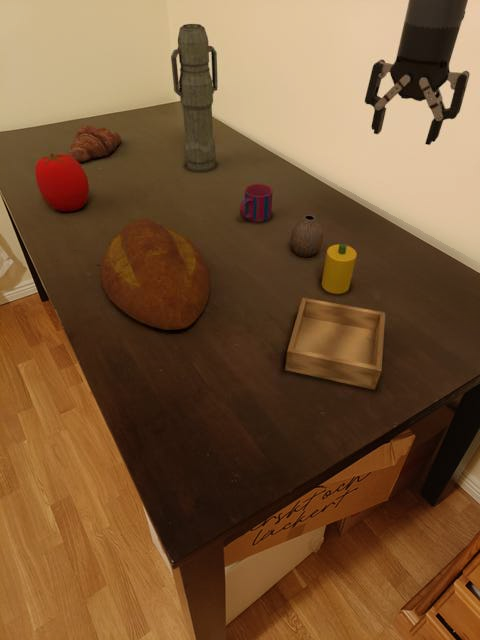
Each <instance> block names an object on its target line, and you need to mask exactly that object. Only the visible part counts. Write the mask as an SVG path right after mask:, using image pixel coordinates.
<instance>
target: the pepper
mask: <svg viewBox="0 0 480 640" xmlns="http://www.w3.org/2000/svg"><path fill="white" fill-rule="evenodd" d="M357 254H358V253H357V251H356V250H355V249H354V248H353V247H352V246H350V245H347V244H346V243H340V244H333V245H330V246H329V247H328V248H327V250H326V253H325V260H324V268H323V273H322V278H321V287H322V288H323V289H324V290H325V291H326V292H328V293H330V294H335V295H339V294H340V295H341V294H344V293H346V292H348V291H349V289H350V285H351V281H352V277H353V274H354V269H355V268H354V267H355V264H356V260H357V256H358V255H357Z"/></svg>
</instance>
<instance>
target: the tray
mask: <svg viewBox="0 0 480 640" xmlns="http://www.w3.org/2000/svg"><path fill="white" fill-rule="evenodd" d="M385 325H386V312H384V311H379V310H373V309H367V308H362V307H356V306H352V305H345V304H340V303H335V302H330V301H323V300H318V299H313V298H307V297H302V298H301V301H300V304H299V308H298V312H297V316H296V318H295V323H294V326H293V328H292V333H291V336H290V339H289V344H288V346H287V351H286V358H285V367H284V368H285V369H284V370H285V371H287V372H292V373H297V374H301V375H306V376H311V377H315V378H319V379H323V380H328V381H332V382H337V383H342V384H346V385H351V386H354V387H360V388H365V389H370V390H376V388H377V385H378V382H379V379H380V376H381V373H382V371H383V370H382V369H383V355H384V342H385V341H384V339H385Z"/></svg>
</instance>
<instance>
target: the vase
mask: <svg viewBox="0 0 480 640" xmlns="http://www.w3.org/2000/svg"><path fill="white" fill-rule="evenodd" d="M323 241H324V233H323V228H322V226H321V225H320V223H319V222H318V221H317V219H316V216H315V215H313V214H305V215H303V217H302V218H301V220H300V221H298V222H297V223H296V224H295V225H294V226H293V229H292V231H291V235H290V244H291V248H292V250H293V251H294V253H296V254H297V255H298V256H300V257H302V258H303V257H304V258H309V257H312V256H314V255H315V254H317V253H319V251H320V249H321V247H322V245H323Z"/></svg>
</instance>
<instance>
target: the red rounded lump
mask: <svg viewBox="0 0 480 640" xmlns="http://www.w3.org/2000/svg"><path fill="white" fill-rule="evenodd" d="M68 154H69V153H68ZM68 154H67V153H63V152H61V153H53V152H52V153H50V154H49V155H45V156H42V157H40V158H39V160H38V161H37V162H36V164H35V167H34V169H35V171H34V174H35V180H36V184H37V187H38V190H39V192H40V194H41V196H42V198H43V199H44V201H45V202H47V204H48V205H49V206H50V207H51V208H53V209H55V210H57V211H60V212H67V213H69V212H75V211H78V210H80V209H82V208H83V207H84V206H85V205H86V203H87V201H88V198H89V193H90V192H89V191H90V185H89V184H90V183H89V179H88V176H87V173H86V172H85V169H84V168H83V167H82V165H81V164H80V162H78V161H77V160H76V159H75V158H73V157H71V156H70V155H68Z"/></svg>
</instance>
